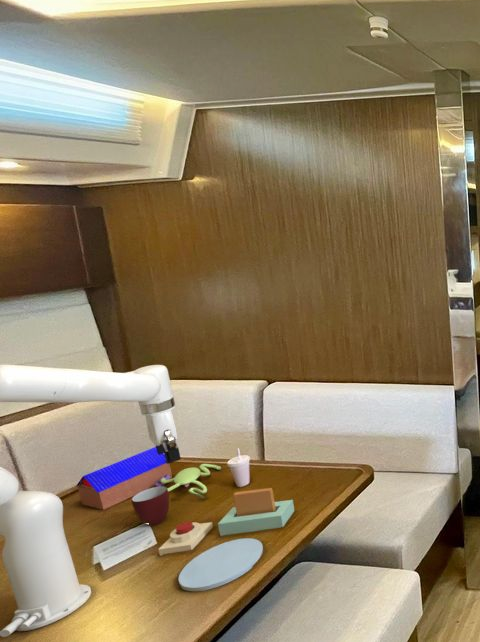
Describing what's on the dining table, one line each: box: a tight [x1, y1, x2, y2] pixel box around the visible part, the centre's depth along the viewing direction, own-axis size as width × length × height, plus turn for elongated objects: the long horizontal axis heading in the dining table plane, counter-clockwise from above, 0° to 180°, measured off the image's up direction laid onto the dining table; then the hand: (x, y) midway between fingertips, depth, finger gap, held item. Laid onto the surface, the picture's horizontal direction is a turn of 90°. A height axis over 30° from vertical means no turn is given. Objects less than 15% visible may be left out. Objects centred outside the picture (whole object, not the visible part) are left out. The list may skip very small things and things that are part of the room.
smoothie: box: [227, 447, 251, 488], centre depth 161 cm, size 6×6×14 cm
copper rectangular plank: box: [232, 487, 276, 517], centre depth 140 cm, size 2×10×11 cm, turn 102°
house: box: [75, 446, 173, 510], centre depth 158 cm, size 12×20×12 cm, turn 163°
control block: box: [158, 521, 214, 557], centre depth 133 cm, size 10×8×4 cm
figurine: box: [155, 463, 222, 499], centre depth 158 cm, size 18×27×6 cm
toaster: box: [217, 499, 295, 537], centre depth 141 cm, size 8×17×4 cm, turn 102°
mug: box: [131, 485, 170, 527], centre depth 142 cm, size 11×8×10 cm
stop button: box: [175, 521, 193, 535], centre depth 133 cm, size 4×4×2 cm
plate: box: [178, 537, 264, 592], centre depth 125 cm, size 18×18×1 cm
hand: (169, 456), depth 140 cm, fingers open, 9 cm apart
